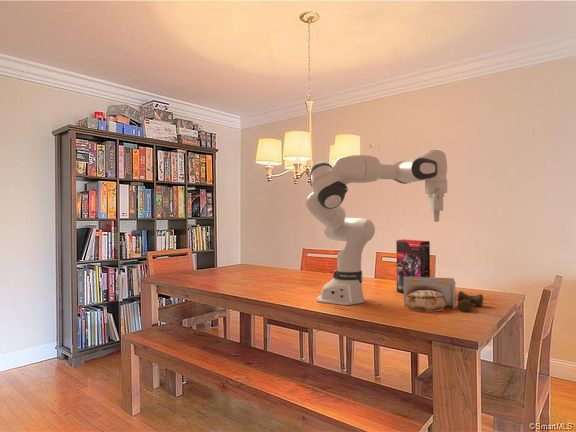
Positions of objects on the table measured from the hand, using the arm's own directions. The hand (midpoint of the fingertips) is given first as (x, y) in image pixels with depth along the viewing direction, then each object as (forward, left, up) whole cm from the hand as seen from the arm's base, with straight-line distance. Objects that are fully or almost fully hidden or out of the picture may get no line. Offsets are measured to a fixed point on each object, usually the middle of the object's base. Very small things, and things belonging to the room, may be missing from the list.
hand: (436, 221), depth 157 cm
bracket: (-3, +6, -37) cm, 38 cm away
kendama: (+13, +7, -38) cm, 40 cm away
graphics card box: (-9, +27, -37) cm, 47 cm away
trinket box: (-5, -1, -38) cm, 38 cm away
